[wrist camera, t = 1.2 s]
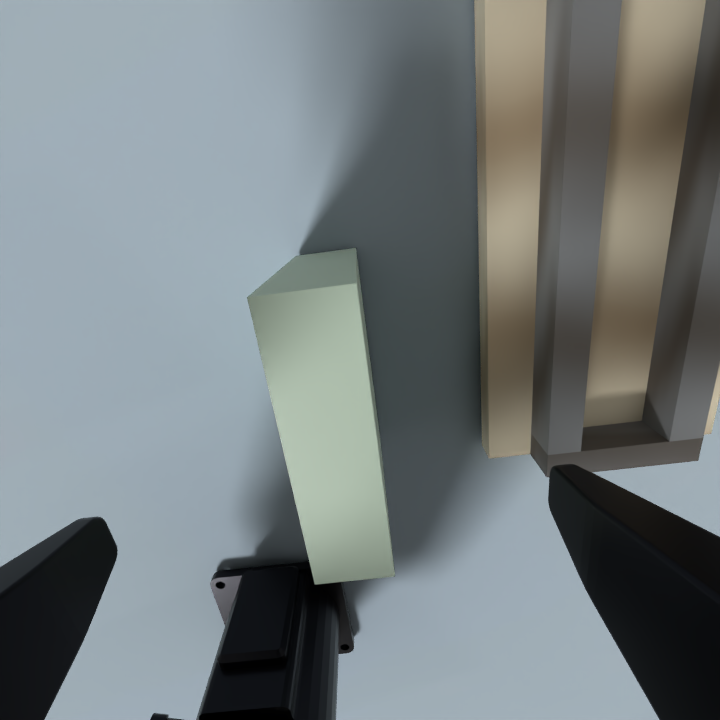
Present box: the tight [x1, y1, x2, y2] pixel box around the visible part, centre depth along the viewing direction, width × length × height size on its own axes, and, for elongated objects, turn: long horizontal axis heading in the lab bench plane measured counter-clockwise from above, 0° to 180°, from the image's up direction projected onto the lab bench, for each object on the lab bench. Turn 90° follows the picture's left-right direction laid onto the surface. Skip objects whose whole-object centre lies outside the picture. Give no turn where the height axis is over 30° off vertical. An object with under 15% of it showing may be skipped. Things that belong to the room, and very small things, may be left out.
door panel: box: [247, 248, 395, 585], centre depth 13 cm, size 8×2×7 cm, turn 7°
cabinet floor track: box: [474, 0, 720, 477], centre depth 12 cm, size 22×9×2 cm, turn 7°
